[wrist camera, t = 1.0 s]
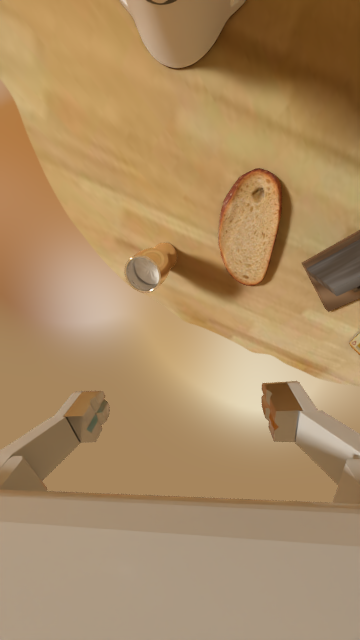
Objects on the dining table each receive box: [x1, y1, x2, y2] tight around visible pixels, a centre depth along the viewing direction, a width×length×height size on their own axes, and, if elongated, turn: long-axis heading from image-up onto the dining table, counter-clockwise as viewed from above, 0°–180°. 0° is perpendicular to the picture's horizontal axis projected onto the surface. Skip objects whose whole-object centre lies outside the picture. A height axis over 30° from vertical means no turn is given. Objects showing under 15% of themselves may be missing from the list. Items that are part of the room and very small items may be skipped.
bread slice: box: [218, 168, 282, 286], centre depth 38 cm, size 18×18×4 cm
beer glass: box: [125, 243, 177, 293], centre depth 39 cm, size 7×7×15 cm
